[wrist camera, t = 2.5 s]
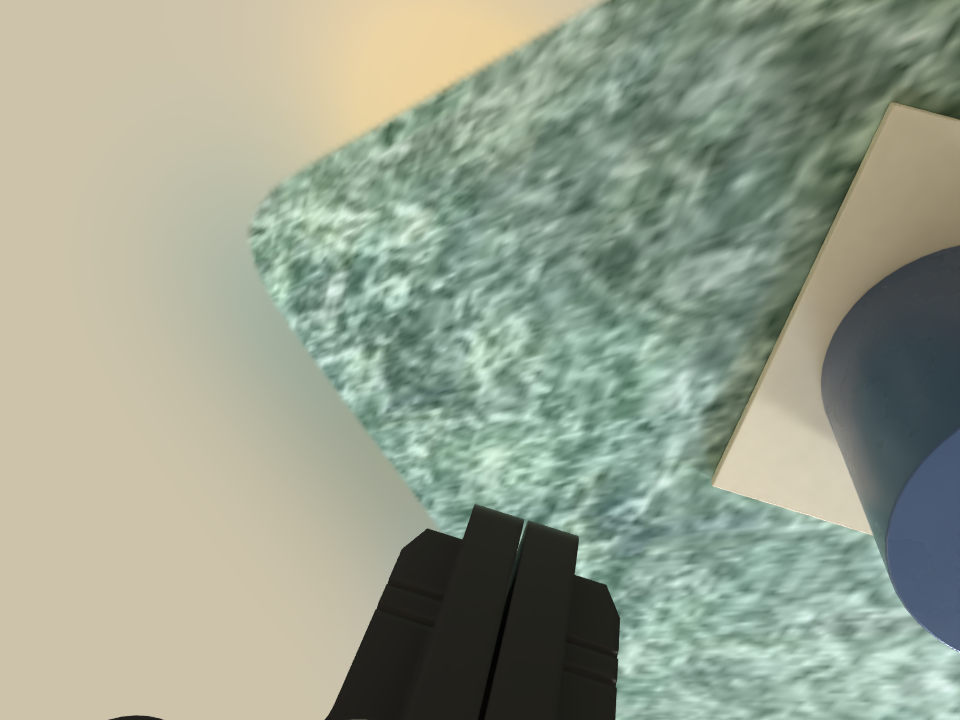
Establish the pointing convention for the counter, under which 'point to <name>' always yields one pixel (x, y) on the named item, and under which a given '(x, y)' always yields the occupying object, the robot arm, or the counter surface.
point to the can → (906, 429)
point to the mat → (825, 302)
